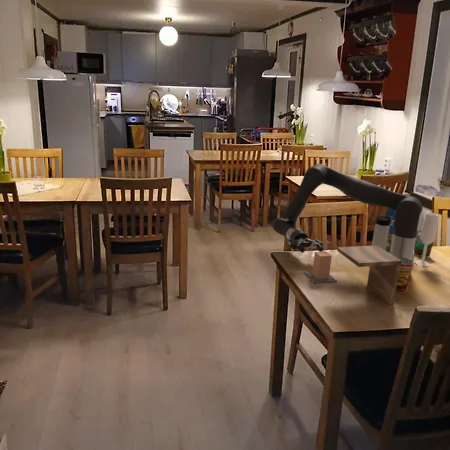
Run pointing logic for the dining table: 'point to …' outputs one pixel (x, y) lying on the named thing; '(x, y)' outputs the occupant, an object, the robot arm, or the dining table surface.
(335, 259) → the dining table surface
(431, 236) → the champagne flute
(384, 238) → the travel mug
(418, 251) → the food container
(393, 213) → the blue food package
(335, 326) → the dining table surface
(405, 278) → the canned food
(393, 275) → the shelf nook
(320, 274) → the terracotta block
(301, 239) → the robot arm
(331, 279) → the slate mat
